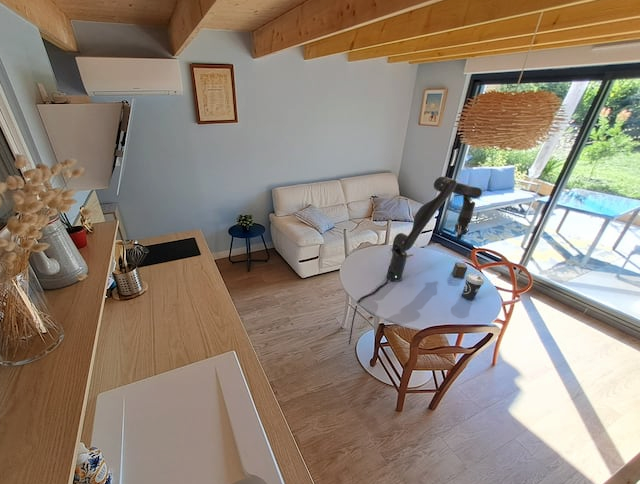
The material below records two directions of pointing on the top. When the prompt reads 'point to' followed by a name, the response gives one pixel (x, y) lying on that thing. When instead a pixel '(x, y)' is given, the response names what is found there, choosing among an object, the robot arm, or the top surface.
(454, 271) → the walnut block
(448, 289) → the top surface
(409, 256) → the magic lamp
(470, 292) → the coffee cup
